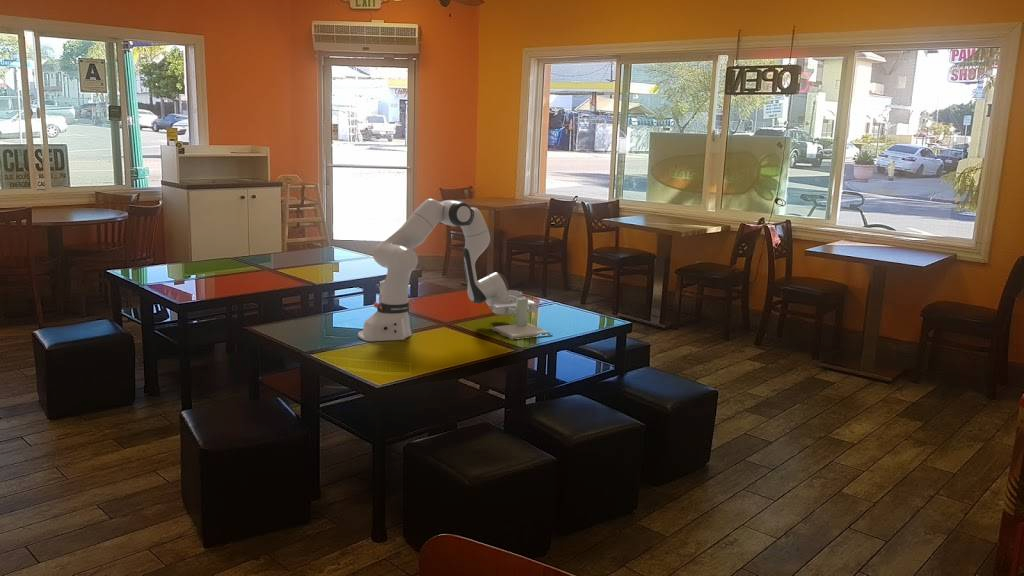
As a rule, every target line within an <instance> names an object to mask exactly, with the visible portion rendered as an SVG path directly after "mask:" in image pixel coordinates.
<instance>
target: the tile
mask: <svg viewBox="0 0 1024 576" xmlns="http://www.w3.org/2000/svg"><path fill="white" fill-rule="evenodd" d="M490 328H491V329H492V330H494V331H496V332H498V333H500V334H502V335H504V336H506V337H508V338H510V339H516V338H524V337H533V336H537V335H539V334H542V335H545V334H548V335H550V334H552V333H551V332H549V331H547V330H545V329H542V328H540V327H538V326H536V325H534V324H531V323H528V322H527V326H526V327H518V326H516V323H515V324H507V325H497V326H493V327H490ZM492 330H491V331H492ZM494 331H493V332H494ZM496 332H495V333H496ZM498 333H497V334H498ZM500 334H499V335H500ZM502 335H501V336H502ZM504 336H503V337H504ZM506 337H505V338H506ZM508 338H507V339H508ZM510 339H509V340H510Z"/></svg>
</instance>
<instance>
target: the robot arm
mask: <svg viewBox="0 0 1024 576" xmlns="http://www.w3.org/2000/svg"><path fill="white" fill-rule="evenodd" d="M438 224H441V225H447V226H451V227H459V228H460V229H461V230H462V234H463V236H464V243H465V244H464V247H463V249H462V253H461V255H462V262H463V263H462V264H463V269H464V274H465V275H464V276H465V280H466V282H465V283H466V293H467V295H468V299H469V300H470V301H471V303H473V304H474V303H475V304H477V305H478V304H479V305H481V304H483V303H484V302H485V303H486V304H487V305H488V309H490V310H492V313H493V314H495V315H505V316H511V315H513V314H514V315H516V314H517V313H518V310H517V309H516V298H527V297H526V296H522V297H519V296H512V295H508V290H510V289H509V283H508V280H507V279H506V277H505V276H504V275H503V274H501V273H500V272H497V271H495V272H492V273H489V274H488V275H486V276H484V277H482V278H480V279H479V280H478V277H477V270H476V262H477V260H478V259H479V256H481V255H482V254H483V252H484V251H486V249H487V248H488V246H489V245H490V242H491V235H490V230H489V228H488V225H487V223H486V220H485V218H484V216H483V214H482V213H481V211H480V209H478V208H477V207H473V206H472V207H471V206H470V205H469V204H468V203H466V202H464V201H462V200H455V199H447V200H446V199H442V200H439V201H438V200H437V199H434V198H427V199H426V200H424V201H423V202H421V203H420V205H419V206H418V207H417V208H416V209H415V210H414V211H413V212H412V213H411V214H410V215H409V217H408V218H407V220H406V221H405V222H404V223H403V224H402V226H401V227H400V228H398V230H397V231H395V232H394V233H393V234H392V235H390V236H389V237H387V239H385V240H383V241H382V242H379V243H378V244H376V245H375V246H374V248H373V252H372V258H373V259H374V261H375V263H377V264H378V265H379V266H381V268H382V267H383V268H386V269H387V273H386V277H385V279H384V280H385V281H384V282H383V283H382V302H381V303H379V302H374V303H373V307H374V308H376V312H374V313H373V314H372V315H371V316H369V317H367V319H366V320H365V321H364V324H363V328H362V330H361V331H358V333H357V337H358V338H359V339H361V340H363V341H366V342H381V341H383V342H384V341H401V340H406V338H408V337H409V338H410V337H411V336H412V335H413V333H412V330H411V326H410V320H409V319H410V318H409V315H410V302H409V284H410V283H409V282H410V279H411V276H412V272H413V271H414V270H415V269H416V267H417V265H418V263H419V258H418V255H417V252H415V251H414V249H415V248H417V247H418V246H421V245H422V244H423V243H424V242H425V241H426V240H427V238H428V237H429V235H430V234H431V233H432V232H433V230H434V229H435V227H437V225H438ZM536 311H537V302H535V301H533V300H532V299H528V310H527V314H528V313H531V312H536Z"/></svg>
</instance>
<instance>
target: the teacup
mask: <svg viewBox="0 0 1024 576" xmlns="http://www.w3.org/2000/svg"><path fill="white" fill-rule="evenodd" d="M508 295H512V296H519V297H523V292H522V291H518V290H513V289H509V290H508Z"/></svg>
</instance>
